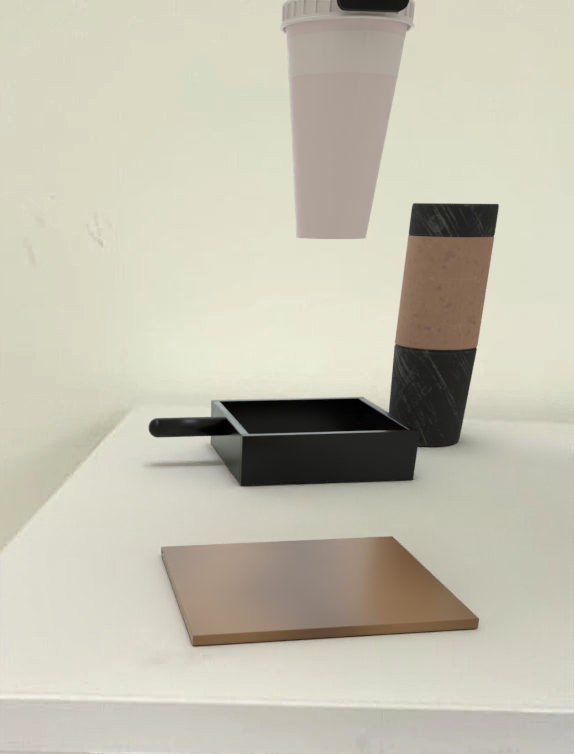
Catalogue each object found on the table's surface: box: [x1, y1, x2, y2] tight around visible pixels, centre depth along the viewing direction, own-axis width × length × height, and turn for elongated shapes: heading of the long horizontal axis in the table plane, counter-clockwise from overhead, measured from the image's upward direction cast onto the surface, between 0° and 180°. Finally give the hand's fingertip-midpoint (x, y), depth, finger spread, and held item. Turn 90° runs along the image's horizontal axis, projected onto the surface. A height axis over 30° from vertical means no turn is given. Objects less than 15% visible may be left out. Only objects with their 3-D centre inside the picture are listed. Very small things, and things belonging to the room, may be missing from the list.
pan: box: [147, 396, 420, 487], centre depth 77 cm, size 22×15×4 cm
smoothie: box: [279, 0, 416, 240], centre depth 43 cm, size 6×6×14 cm
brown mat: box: [160, 535, 480, 647], centre depth 53 cm, size 16×14×1 cm
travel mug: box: [388, 202, 500, 448], centre depth 81 cm, size 8×8×20 cm
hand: (348, 19), depth 42 cm, fingers closed on smoothie, 6 cm apart
